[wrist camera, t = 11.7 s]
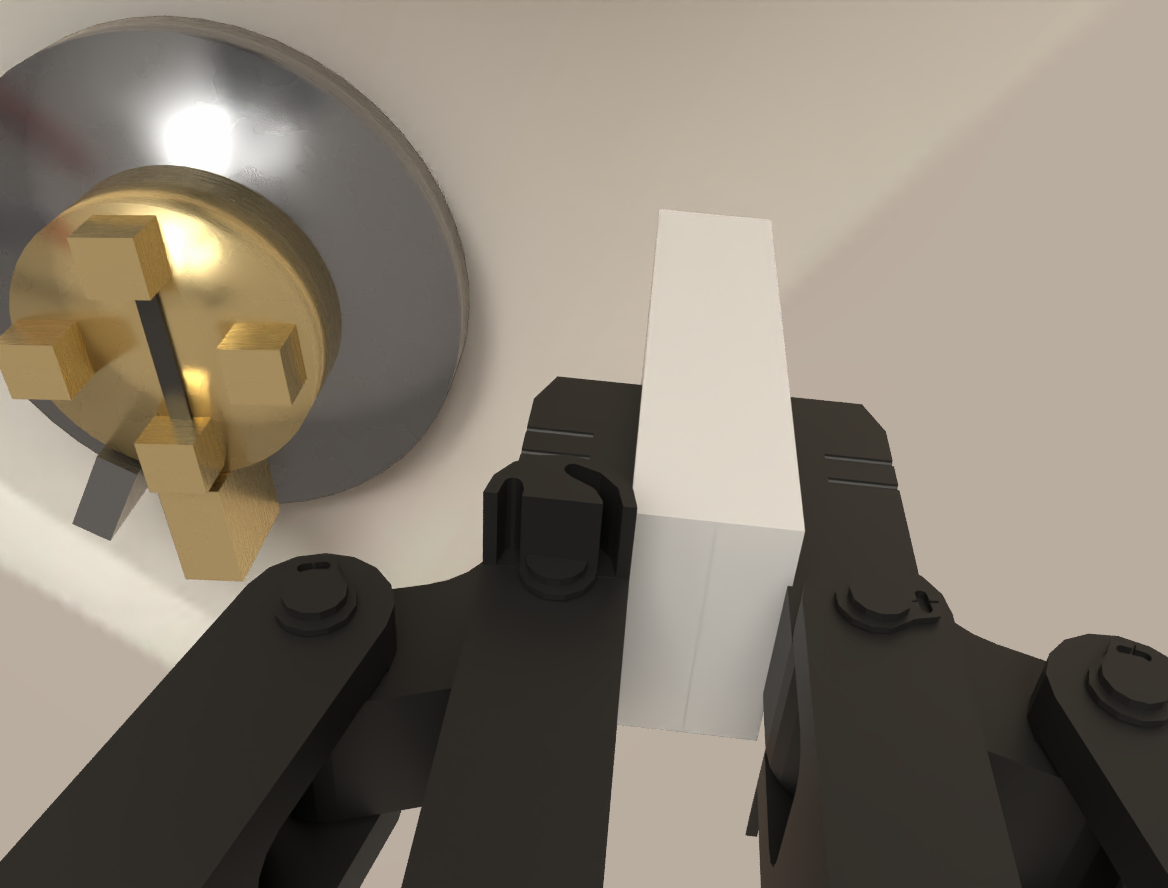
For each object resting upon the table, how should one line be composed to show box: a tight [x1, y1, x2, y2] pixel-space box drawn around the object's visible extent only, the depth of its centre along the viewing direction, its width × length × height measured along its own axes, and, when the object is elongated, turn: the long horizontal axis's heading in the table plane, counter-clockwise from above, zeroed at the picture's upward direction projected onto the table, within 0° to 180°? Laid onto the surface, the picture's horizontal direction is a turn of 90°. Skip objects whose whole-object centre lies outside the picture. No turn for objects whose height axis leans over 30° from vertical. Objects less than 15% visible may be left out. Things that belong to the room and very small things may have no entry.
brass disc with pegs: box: [0, 165, 342, 581], centre depth 41 cm, size 16×11×5 cm
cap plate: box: [0, 16, 469, 541], centre depth 41 cm, size 20×20×6 cm
